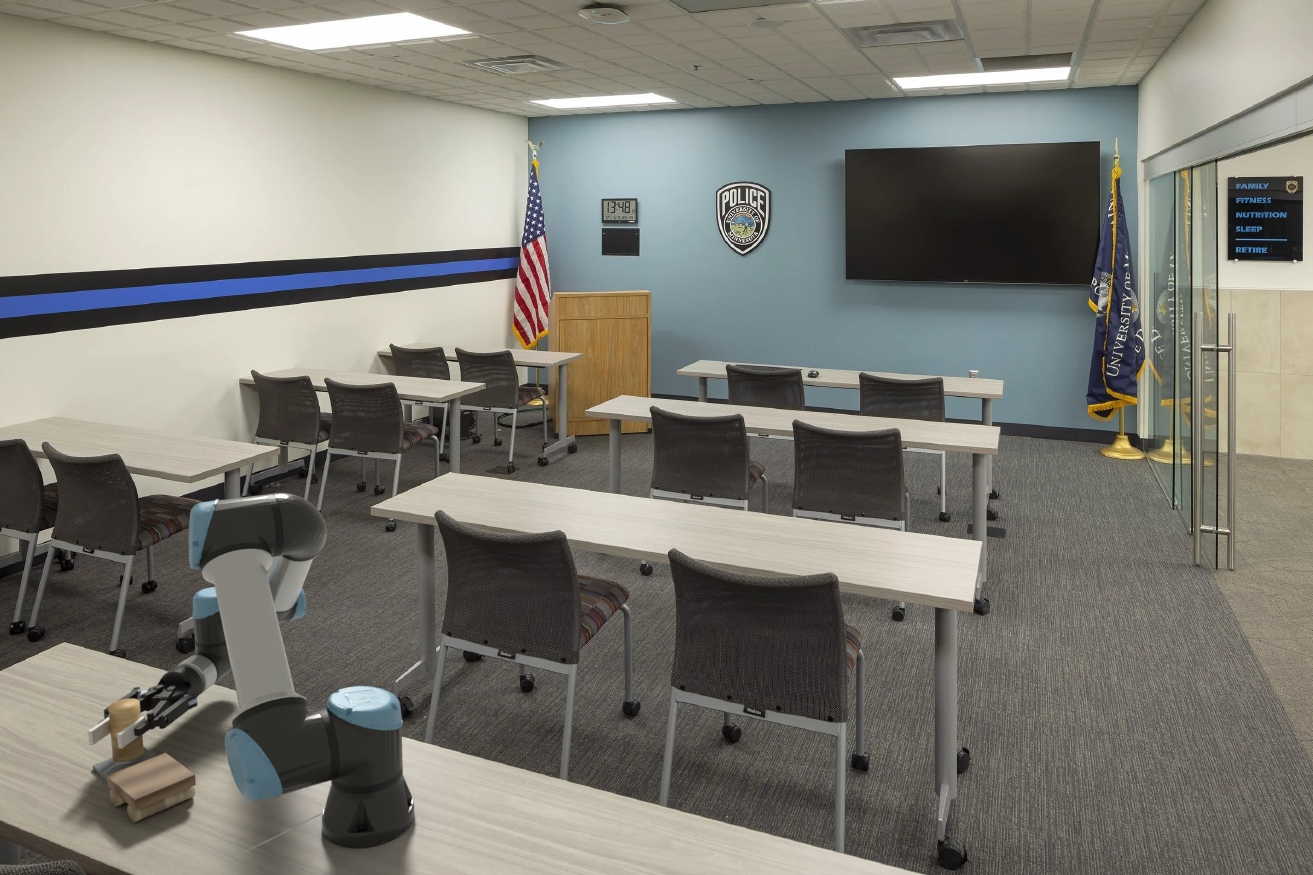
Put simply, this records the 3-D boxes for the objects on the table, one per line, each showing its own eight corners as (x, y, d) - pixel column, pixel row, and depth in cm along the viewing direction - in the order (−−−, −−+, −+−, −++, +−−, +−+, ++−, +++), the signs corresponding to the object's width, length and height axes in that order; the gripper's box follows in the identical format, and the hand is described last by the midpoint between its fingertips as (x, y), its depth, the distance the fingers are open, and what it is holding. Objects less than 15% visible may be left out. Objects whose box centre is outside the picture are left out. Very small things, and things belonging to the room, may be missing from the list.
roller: (148, 753, 172) (144, 704, 170) (120, 764, 168) (115, 714, 166) (136, 744, 175) (132, 695, 173) (108, 755, 171) (103, 705, 169)
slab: (197, 800, 162) (195, 774, 162) (137, 826, 155) (134, 799, 154) (167, 777, 169) (165, 752, 168) (108, 801, 161) (106, 775, 160)
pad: (165, 766, 173) (165, 762, 172) (114, 787, 166) (113, 783, 165) (143, 749, 178) (143, 745, 178) (92, 769, 171) (92, 765, 171)
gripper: (229, 702, 187) (152, 763, 165) (147, 694, 190) (61, 753, 167) (227, 668, 186) (149, 725, 163) (145, 660, 188) (57, 715, 165)
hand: (105, 739), depth 165 cm, fingers closed on roller, 5 cm apart
